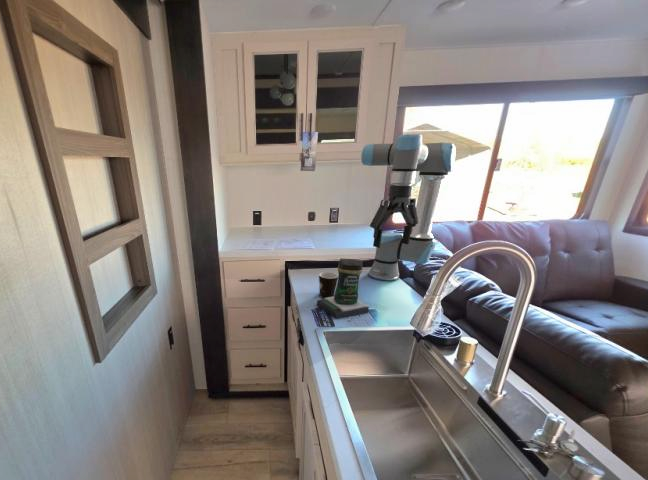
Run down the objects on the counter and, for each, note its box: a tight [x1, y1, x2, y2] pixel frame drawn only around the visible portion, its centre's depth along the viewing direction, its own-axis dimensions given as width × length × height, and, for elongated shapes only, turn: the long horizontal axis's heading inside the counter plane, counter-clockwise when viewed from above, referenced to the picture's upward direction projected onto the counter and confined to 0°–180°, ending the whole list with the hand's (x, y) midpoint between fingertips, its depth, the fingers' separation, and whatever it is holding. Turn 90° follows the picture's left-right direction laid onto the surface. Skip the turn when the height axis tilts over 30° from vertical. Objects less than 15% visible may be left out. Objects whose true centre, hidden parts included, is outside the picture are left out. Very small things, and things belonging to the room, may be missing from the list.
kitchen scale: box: [316, 296, 370, 320], centre depth 133 cm, size 16×14×3 cm
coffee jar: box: [334, 257, 363, 304], centre depth 129 cm, size 10×8×19 cm
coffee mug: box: [318, 271, 339, 299], centre depth 146 cm, size 12×9×10 cm
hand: (390, 245), depth 117 cm, fingers open, 13 cm apart
